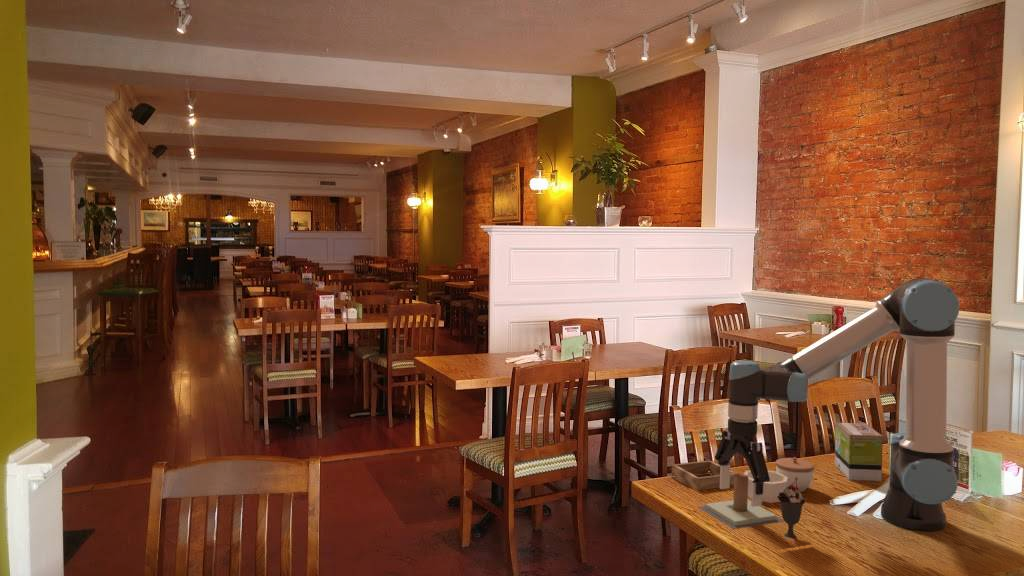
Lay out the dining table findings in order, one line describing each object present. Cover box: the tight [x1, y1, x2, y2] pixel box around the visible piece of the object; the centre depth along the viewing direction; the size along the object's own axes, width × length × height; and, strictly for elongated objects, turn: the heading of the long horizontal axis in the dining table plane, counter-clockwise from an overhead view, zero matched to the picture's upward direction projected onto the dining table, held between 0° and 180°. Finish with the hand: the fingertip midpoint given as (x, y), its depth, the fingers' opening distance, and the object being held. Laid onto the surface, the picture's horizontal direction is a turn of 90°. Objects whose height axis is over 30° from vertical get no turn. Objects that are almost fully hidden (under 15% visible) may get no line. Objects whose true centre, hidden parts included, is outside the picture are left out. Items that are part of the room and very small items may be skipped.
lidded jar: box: [775, 456, 815, 493], centre depth 215 cm, size 11×11×9 cm
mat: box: [697, 505, 785, 530], centre depth 193 cm, size 16×16×1 cm
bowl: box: [743, 470, 788, 504], centre depth 208 cm, size 12×12×6 cm
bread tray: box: [671, 460, 738, 491], centre depth 220 cm, size 14×14×4 cm
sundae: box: [778, 478, 807, 539], centre depth 179 cm, size 7×7×15 cm
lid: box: [705, 473, 777, 526], centre depth 193 cm, size 13×13×10 cm
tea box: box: [834, 422, 884, 482], centre depth 229 cm, size 15×10×15 cm, turn 172°
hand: (739, 496), depth 193 cm, fingers open, 13 cm apart
